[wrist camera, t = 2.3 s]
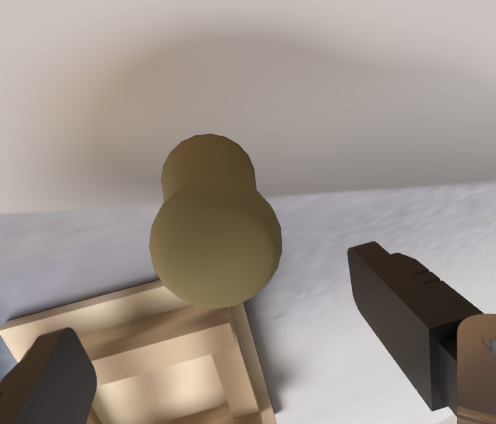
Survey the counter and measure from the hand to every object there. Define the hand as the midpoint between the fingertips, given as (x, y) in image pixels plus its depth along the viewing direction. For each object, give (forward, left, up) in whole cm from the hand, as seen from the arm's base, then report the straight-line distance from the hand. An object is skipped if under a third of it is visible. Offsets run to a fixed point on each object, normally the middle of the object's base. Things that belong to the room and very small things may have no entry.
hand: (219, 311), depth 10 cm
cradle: (+8, +14, -14) cm, 21 cm away
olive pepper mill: (0, 0, -14) cm, 14 cm away
